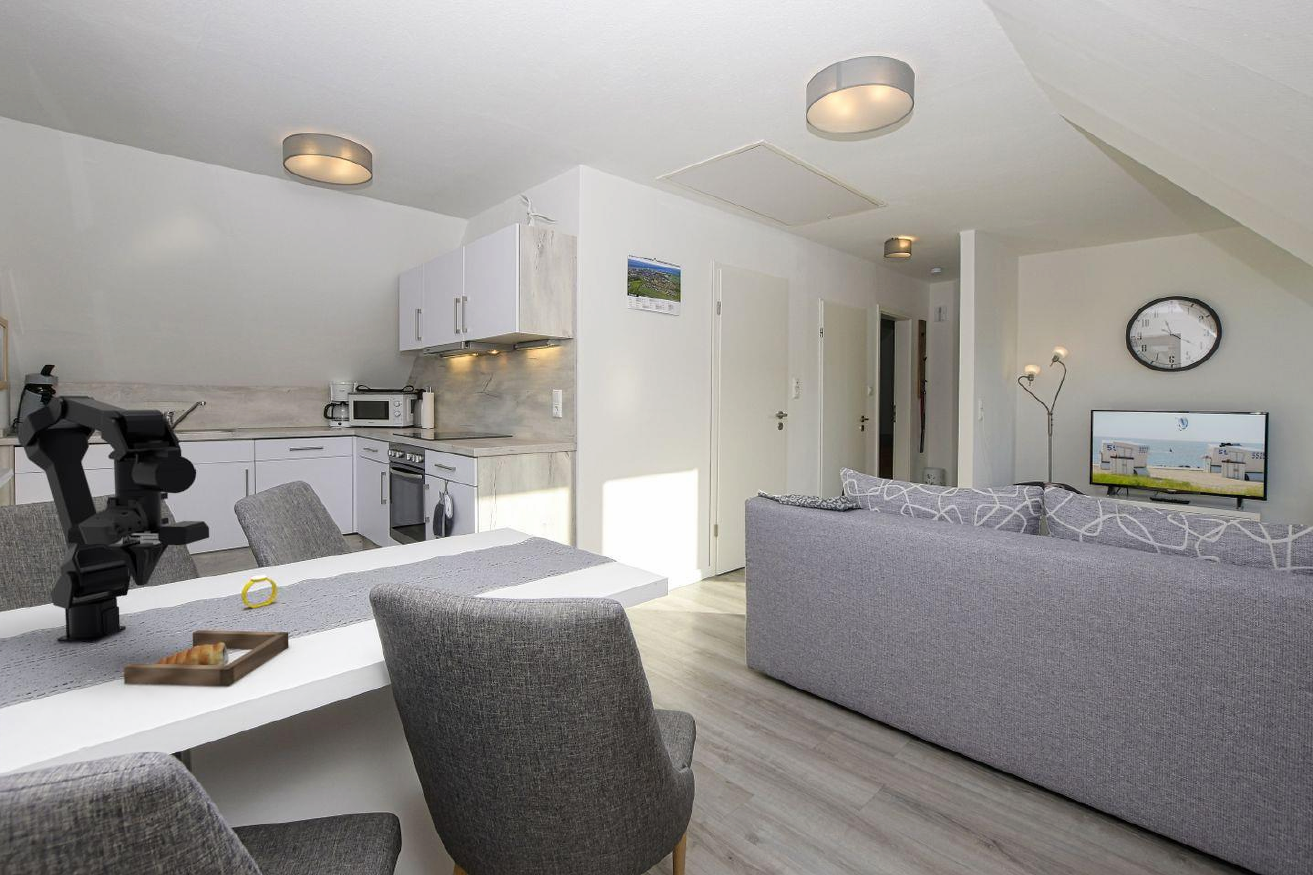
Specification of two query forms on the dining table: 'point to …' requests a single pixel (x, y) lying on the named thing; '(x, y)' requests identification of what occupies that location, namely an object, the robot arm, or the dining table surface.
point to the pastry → (199, 656)
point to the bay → (212, 675)
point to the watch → (253, 580)
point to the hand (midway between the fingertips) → (141, 584)
